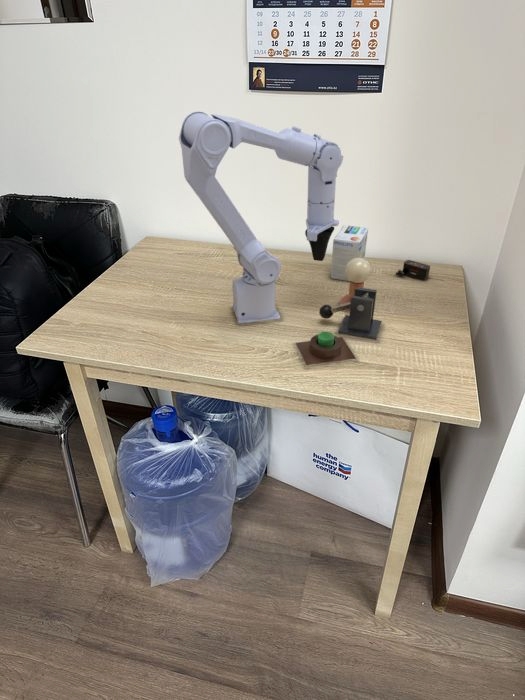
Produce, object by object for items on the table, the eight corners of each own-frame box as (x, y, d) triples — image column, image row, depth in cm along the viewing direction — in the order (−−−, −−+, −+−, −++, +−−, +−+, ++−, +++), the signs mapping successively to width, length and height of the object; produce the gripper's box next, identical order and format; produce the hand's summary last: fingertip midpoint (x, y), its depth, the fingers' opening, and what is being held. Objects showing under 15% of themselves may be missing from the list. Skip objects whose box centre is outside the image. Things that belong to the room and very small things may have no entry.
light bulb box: (340, 262, 140) (343, 224, 134) (364, 266, 138) (369, 227, 132) (329, 278, 132) (332, 238, 126) (355, 282, 130) (359, 242, 124)
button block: (306, 367, 100) (307, 356, 99) (295, 345, 106) (296, 334, 105) (355, 360, 102) (356, 349, 100) (341, 339, 108) (342, 328, 107)
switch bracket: (338, 335, 110) (341, 298, 105) (345, 319, 115) (348, 283, 110) (376, 341, 107) (381, 304, 102) (381, 325, 113) (386, 289, 108)
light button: (320, 348, 101) (320, 341, 100) (315, 340, 104) (315, 332, 103) (335, 346, 102) (336, 339, 101) (330, 338, 104) (331, 330, 103)
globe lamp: (345, 315, 117) (350, 266, 110) (336, 302, 122) (340, 254, 115) (372, 312, 118) (378, 263, 111) (362, 299, 123) (367, 251, 116)
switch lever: (321, 322, 112) (315, 310, 111) (324, 316, 114) (319, 304, 113) (370, 309, 106) (365, 296, 105) (373, 302, 108) (368, 290, 107)
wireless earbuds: (403, 270, 136) (405, 258, 134) (428, 277, 132) (431, 265, 130) (395, 276, 133) (396, 264, 131) (420, 284, 129) (423, 272, 127)
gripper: (331, 212, 102) (328, 275, 110) (347, 191, 114) (343, 249, 121) (297, 209, 104) (296, 271, 112) (315, 188, 116) (313, 245, 123)
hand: (318, 259), depth 117 cm, fingers closed
